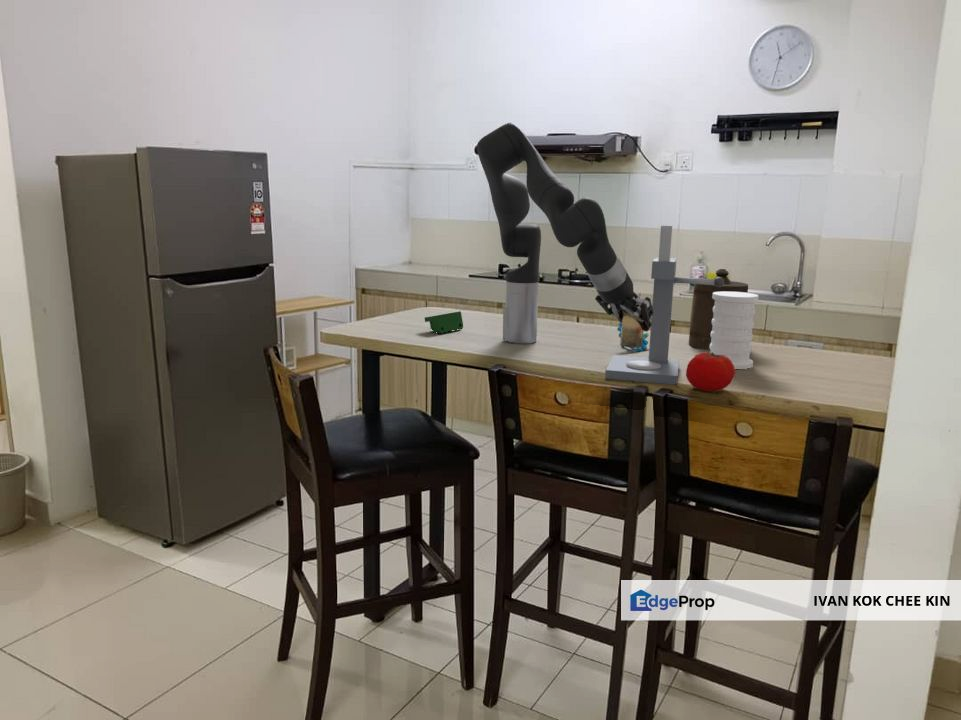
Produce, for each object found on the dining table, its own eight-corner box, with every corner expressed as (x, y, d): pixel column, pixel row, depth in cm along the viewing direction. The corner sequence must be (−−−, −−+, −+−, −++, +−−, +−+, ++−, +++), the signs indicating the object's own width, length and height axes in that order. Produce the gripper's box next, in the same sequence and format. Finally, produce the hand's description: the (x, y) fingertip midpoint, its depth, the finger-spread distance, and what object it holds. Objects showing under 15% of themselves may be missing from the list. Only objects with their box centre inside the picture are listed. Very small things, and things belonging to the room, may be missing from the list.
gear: (628, 347, 195) (615, 318, 200) (615, 360, 199) (602, 330, 204) (657, 349, 201) (643, 320, 206) (644, 361, 205) (630, 332, 210)
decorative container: (699, 359, 191) (705, 290, 187) (743, 359, 191) (750, 291, 187) (712, 369, 180) (719, 297, 176) (759, 370, 179) (767, 297, 176)
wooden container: (733, 341, 215) (740, 267, 210) (749, 352, 201) (757, 272, 196) (683, 340, 216) (689, 266, 211) (695, 350, 202) (701, 271, 197)
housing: (618, 346, 165) (622, 301, 163) (621, 342, 170) (624, 298, 167) (641, 348, 164) (645, 303, 161) (643, 344, 168) (647, 300, 166)
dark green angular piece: (447, 342, 228) (450, 315, 230) (461, 340, 224) (464, 312, 227) (420, 332, 219) (423, 304, 222) (435, 330, 216) (438, 301, 218)
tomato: (678, 384, 165) (681, 348, 163) (723, 384, 165) (726, 348, 163) (693, 395, 155) (696, 357, 154) (740, 395, 156) (743, 357, 154)
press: (605, 378, 169) (613, 225, 161) (613, 362, 184) (622, 222, 177) (716, 388, 162) (731, 228, 154) (715, 371, 178) (728, 225, 170)
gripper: (574, 286, 160) (604, 334, 171) (628, 294, 150) (656, 344, 161) (591, 261, 162) (620, 309, 173) (645, 267, 152) (672, 318, 163)
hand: (637, 326), depth 167 cm, fingers closed on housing, 5 cm apart
